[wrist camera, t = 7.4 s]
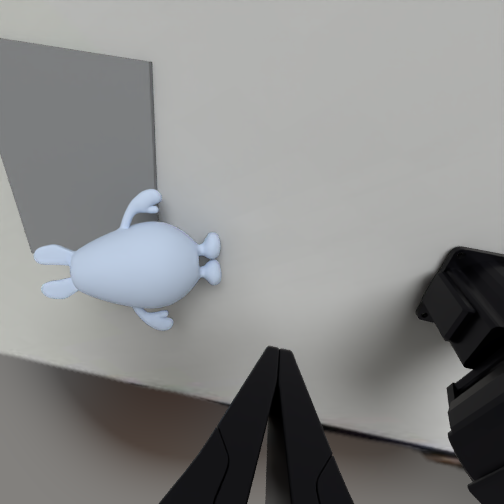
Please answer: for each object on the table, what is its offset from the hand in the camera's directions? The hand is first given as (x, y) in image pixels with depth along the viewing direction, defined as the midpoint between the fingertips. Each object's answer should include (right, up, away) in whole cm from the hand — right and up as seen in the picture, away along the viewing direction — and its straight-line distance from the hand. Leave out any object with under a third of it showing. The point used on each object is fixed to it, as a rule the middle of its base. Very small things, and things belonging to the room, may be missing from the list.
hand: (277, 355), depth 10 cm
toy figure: (-3, +3, +12) cm, 12 cm away
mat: (-14, +9, +12) cm, 20 cm away
